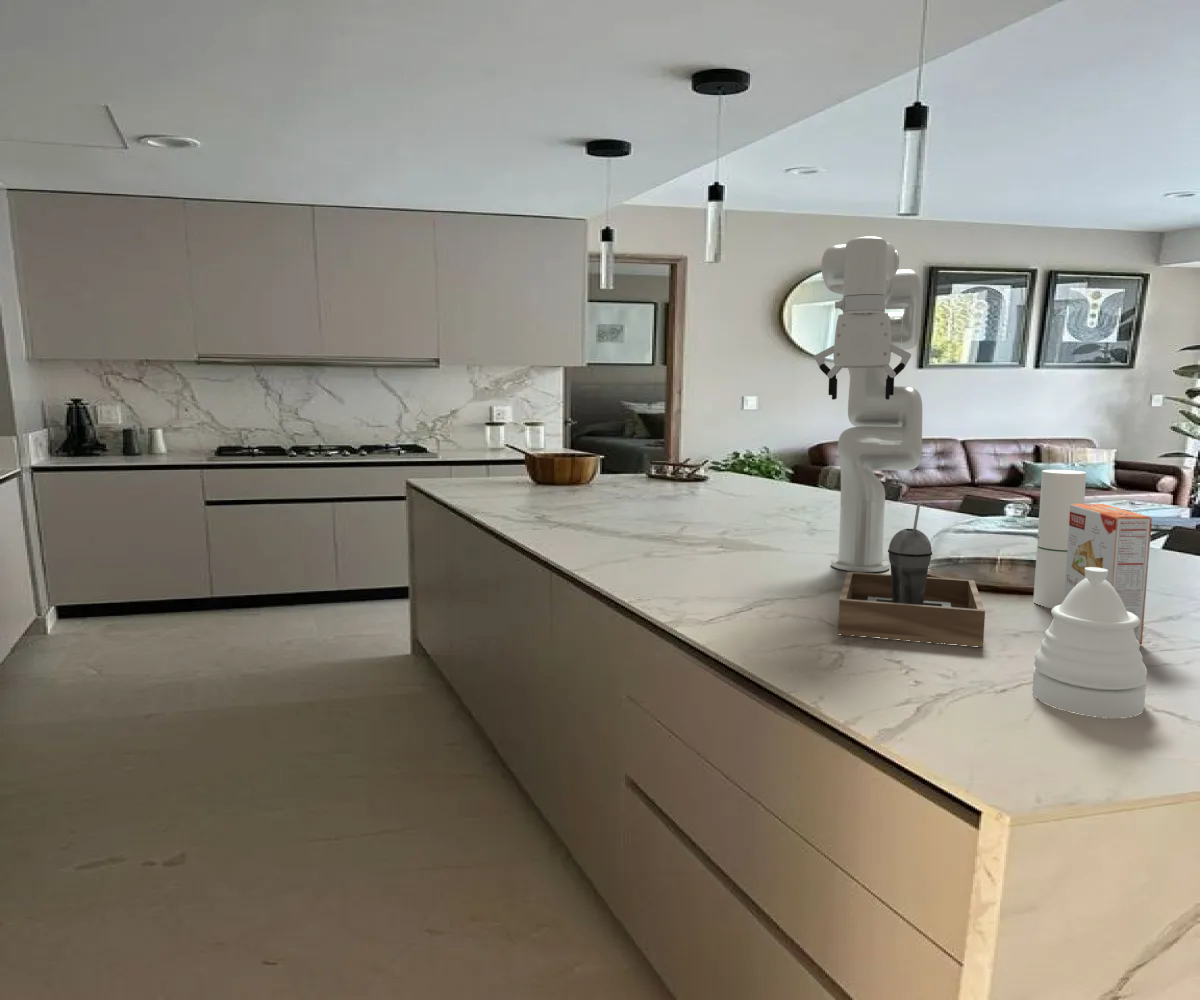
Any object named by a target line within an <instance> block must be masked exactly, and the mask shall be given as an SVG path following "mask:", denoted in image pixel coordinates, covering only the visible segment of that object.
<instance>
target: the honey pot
mask: <svg viewBox="0 0 1200 1000" xmlns="http://www.w3.org/2000/svg"><path fill="white" fill-rule="evenodd" d="M1107 574H1108V570H1107V569H1104V568H1097V567H1086V568H1085V575H1086V578H1085V579H1083V580H1082V581H1080V582H1079V583H1078V584H1077V585H1076V586H1075V587H1074V588H1073V589H1072V590H1071V591H1070V593H1069V594H1068V595H1067V597H1066V598H1065V600H1064V601H1063V603H1062V604H1061V605H1058V606H1055V607H1054V608H1051V610H1050V612H1051V616H1052V617H1053V619H1052V621H1051V623H1050V624H1049V627H1048V628H1047V629H1046V630H1045V631H1044V637H1043V639H1042V640H1041V641H1040V642H1041V643H1040V647H1039V648H1038V650H1036V652H1035V654H1034V662H1033V665H1034V667H1033V672H1032V673H1033V674H1032V675H1033V676H1032V688H1031V691H1033V693H1032V695H1033V694H1034V695H1035V696H1036V697H1037V698H1038V699H1040V700H1041V701H1043V702H1045V703H1047V704H1049V705H1051V706H1054V707H1056V708H1060V709H1063V710H1066V711H1070V712H1075V713H1079V714H1084V715H1090V716H1096V717H1104V718H1103V719H1108V718H1121V717H1130V716H1135V715H1137V714H1139V713H1141V712H1142V711H1143V712H1144V710H1145V703H1146V690H1147V684H1146V682H1147V676H1148V669H1147V667H1146V665H1145V663H1144V661H1143V654H1142V653H1141V651H1140V647H1141V645H1140V644H1139V642H1138V640H1137V639H1136V636H1135V633H1134V630H1133V628H1135V627H1137V626H1138V625H1139V624H1140V619H1139V618H1138V616H1136V615H1135V614H1133V613H1131V612H1128V611H1126V609H1125V607H1124V604H1123V602H1122V600H1121V598H1120V597H1119V595H1118V593H1117V592H1116V590H1115V589H1114V587H1113V586H1112V585H1111V584H1110V583H1109V582H1108V581H1107V580H1105V578H1106V577H1107ZM1034 695H1033V696H1034ZM1041 701H1040V702H1041ZM1051 706H1050V707H1051ZM1143 709H1144V710H1143ZM1143 712H1142V713H1143ZM1096 717H1095V718H1096ZM1105 717H1106V718H1105ZM1135 717H1136V716H1135ZM1130 718H1131V717H1130ZM1121 719H1122V718H1121Z"/></svg>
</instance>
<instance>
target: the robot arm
mask: <svg viewBox="0 0 1200 1000" xmlns="http://www.w3.org/2000/svg"><path fill="white" fill-rule="evenodd" d="M820 268H821V276H822V280H823V281H824V282H823V283H824V285H825V287H826V289H827V290H828V291H830V292H832V293H835V294H839V295H843V296H842V299H841V300H839V301H835V302H834V309H837V310H838V309H839V310H841V311H842V314H841V313H840V314H838V315H837V321H836V325H835V330H834V331H835V332H834V333H835V334H834V343H833V345H832V346H830V347H828V348H826V349H824V350H822V351H821V352H819V353H816V354H815V355H814V360H815V362H816V364H817V366H818V367H819V369H820V371H821V372H822V373H823V374H824V375H825V376H826V377H827V378H828V396H831V400H836V399H838V378H837V374H838V373H839V372H840V371H841V370H842V369H847V370H848V374H849V387H848V402H847V417H848V421H849V422H850V423H851V426H852V425H853V426H852V427H850V428H846V429H845V430H843V431H842V432H841V434H840V435H839V437H838V441H837V450H838V461H839V468H840V500H839V501H840V502H839V503H840V504H839V532H838V534H839V535H838V556H837V557H834V558H832V559H831V560H830V562H831V563H830V565H831V566H832V568H835V569H838V570H841V571H847V572H859V573H877V572H884V571H887V570H890V567H891V564H890V561H887V560H885V559H883V555H884V553H883V552H884V536H885V535H884V533H885V532H884V531H885V506H886V504H885V503H886V490H885V486H884V485H883V483H882V481H881V480H880V479H879V477H877V476H876V475H875V472H876V471H896V472H897V471H902V472H903V471H904V472H905V471H911V470H914V469H916V468H917V467H919V465H920V463H921V462H920V461H921V459H922V452H923V451H922V449H923V448H922V447H923V400H922V396H921V393H920V392H919V390H917V389H916V388H914V387H911V386H895V378H896V377H897V376H898V375H899V374H900V373H901V372H902V371H903V370H904V369H905V368H906V366H907V365H908V363H909V361H910V359H911V358H912V353H911V352H908V351H907V350H910V349H913V348H915V346H917V344H918V342H919V340H920V337H921V322H922V319H921V318H922V305H923V303H922V302H923V301H922V299H923V298H922V297H923V295H922V294H923V292H922V291H923V290H922V282H921V278H920V275H919V274H918V273H917V272H916V271H915V270H913V269H899V268H900V255H899V252H898V250H897V249H896V248H895V246H894V245H893V244H891V243H889V242H887V240H885V238H882V237H881V236H880V237H879V236H862V237H855V238H852V239H850V240H848V241H847V242H846V244H835V245H831V246H829V247H828V248H826V249H825V250H824V252H823V255H822V258H821V267H820ZM886 310H903V312H901V311H899V312H886ZM892 353H893V354H895V355H897V356H899V357H900V358H901V360H900V361H899V363H898V364H897V365H896V366H895V367H894V368H892V367H891V366H890V362H891V359H892V358H891V357H892ZM831 355H833V364H834V365H833V367H832V368H831V369H830V368H829V367H828V365H827V363H825V358H827V357H828V356H831ZM874 471H875V472H874Z"/></svg>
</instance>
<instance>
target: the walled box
mask: <svg viewBox="0 0 1200 1000" xmlns="http://www.w3.org/2000/svg"><path fill="white" fill-rule="evenodd" d="M842 586H843V587H842V590H841V594H840V596H839V600H838V603H839V605H838V627H837V628H838V629H837V630H838V634H841V635H854V636H866V637H880V638H888V639H900V640H910V641H920V642H931V643H943V644H944V643H945V644H957V645H967V646H978V647H983V648H984V636H985V635H984V634H985V619H986V610H985V607H984V605H983V601H982V599H981V596H980V592H979V591H978V587H977V585H976V581H975V580H974V579H965V578H964V579H962V578H949V577H948V578H946V577H931V576H927V579H926V587H925V594H924V601H923V605H917V604H904V603H892V586H891V574H886V573H875V572H854V571H847V572H846V576H845V579H844V582H843V585H842Z"/></svg>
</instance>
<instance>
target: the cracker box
mask: <svg viewBox="0 0 1200 1000" xmlns="http://www.w3.org/2000/svg"><path fill="white" fill-rule="evenodd" d="M1152 520H1153V518H1152V517H1151V516H1147V515H1144V514H1141V513H1137V512H1134V511H1129V510H1126V509H1123V508H1119V507H1116V506H1111V505H1109V504H1104V503H1085V502H1084V503H1081V504H1071V505H1070V518H1069V534H1068V550H1067V565H1066V580H1065V595H1064V600H1065V598H1066V597H1067V595H1068V594H1069V593H1070V591H1071V590H1072V589H1073V588H1074V587H1075V586H1076V585H1077V584H1078V583H1079V582H1080V581H1082V580H1083V579H1085V578H1086V575H1085V568H1086V567H1097V568H1104V569H1107V570H1108V574H1107V577H1106V578H1105V580H1107V581H1108V582H1109V583H1110V584H1111V585H1112V586H1113V587H1114V589H1115V590H1116V592H1117V593H1118V595H1119V597H1120V598H1121V600H1122V602H1123V604H1124V607H1125V609H1126V611H1128V612H1131V613H1133V614H1135V615H1136V616H1138V618H1139V619H1140V624H1139V625H1138V626H1137V627H1135V628H1133V630H1134V633H1135V636H1136V639H1137V640H1138V642H1139V644H1140V646H1141V645H1142V644H1143V634H1144V633H1143V632H1144V620H1145V612H1146V611H1145V610H1146V609H1145V608H1146V599H1147V597H1146V596H1147V585H1148V570H1149V560H1150V548H1151V535H1152V524H1153V521H1152Z"/></svg>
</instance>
